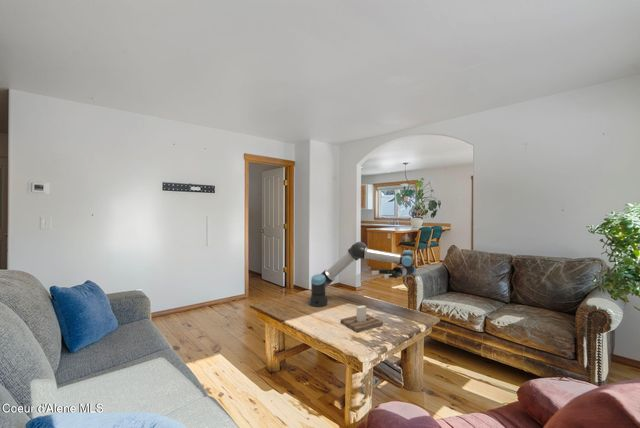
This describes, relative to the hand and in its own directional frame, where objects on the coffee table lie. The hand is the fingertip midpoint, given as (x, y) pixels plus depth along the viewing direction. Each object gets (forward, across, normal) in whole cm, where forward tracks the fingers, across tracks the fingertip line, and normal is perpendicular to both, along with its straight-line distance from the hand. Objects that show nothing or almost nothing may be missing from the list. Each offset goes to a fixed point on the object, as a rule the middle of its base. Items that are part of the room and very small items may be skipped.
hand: (378, 275), depth 212 cm
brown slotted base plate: (+21, -6, -30) cm, 37 cm away
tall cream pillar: (+21, -6, -30) cm, 37 cm away
